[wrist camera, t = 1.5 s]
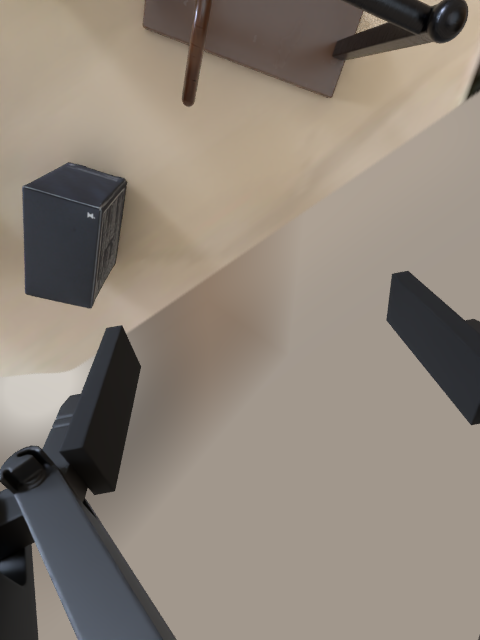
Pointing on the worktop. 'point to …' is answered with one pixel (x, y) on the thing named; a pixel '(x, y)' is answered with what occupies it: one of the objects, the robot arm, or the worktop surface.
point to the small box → (71, 233)
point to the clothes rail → (307, 32)
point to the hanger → (196, 50)
